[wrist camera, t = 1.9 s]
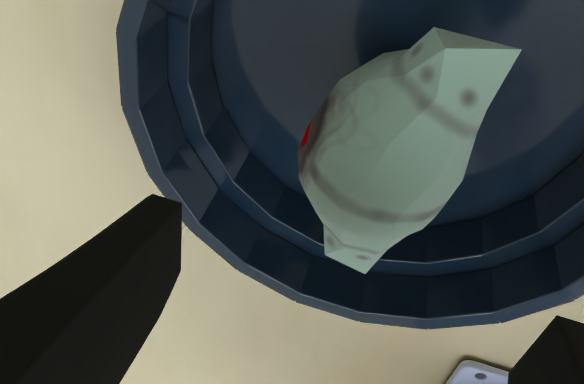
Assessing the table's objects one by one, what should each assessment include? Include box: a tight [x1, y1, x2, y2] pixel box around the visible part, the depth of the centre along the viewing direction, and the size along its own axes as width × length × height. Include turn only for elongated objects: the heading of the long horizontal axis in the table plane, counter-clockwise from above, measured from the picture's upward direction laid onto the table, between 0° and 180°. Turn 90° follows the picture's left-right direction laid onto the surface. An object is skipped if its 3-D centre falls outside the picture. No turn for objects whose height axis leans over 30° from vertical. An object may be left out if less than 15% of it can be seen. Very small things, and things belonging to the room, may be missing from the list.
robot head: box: [298, 27, 522, 274], centre depth 14 cm, size 8×4×7 cm, turn 162°
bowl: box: [116, 0, 584, 329], centre depth 16 cm, size 15×15×4 cm
